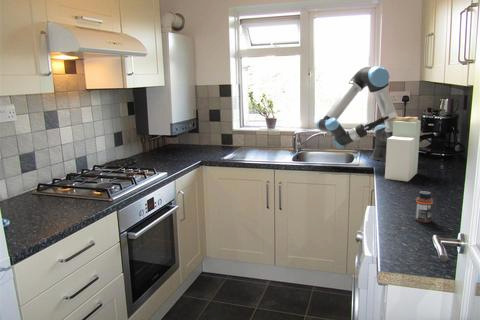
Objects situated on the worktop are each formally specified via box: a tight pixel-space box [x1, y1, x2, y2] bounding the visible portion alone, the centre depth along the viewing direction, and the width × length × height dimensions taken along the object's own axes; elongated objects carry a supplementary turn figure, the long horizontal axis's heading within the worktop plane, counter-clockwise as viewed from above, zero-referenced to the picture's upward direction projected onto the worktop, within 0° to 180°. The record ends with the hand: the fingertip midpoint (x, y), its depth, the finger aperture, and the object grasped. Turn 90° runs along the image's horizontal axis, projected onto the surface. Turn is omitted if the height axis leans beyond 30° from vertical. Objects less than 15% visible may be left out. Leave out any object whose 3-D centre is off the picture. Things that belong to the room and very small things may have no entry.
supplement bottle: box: [414, 190, 434, 224], centre depth 157 cm, size 6×6×11 cm
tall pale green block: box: [384, 120, 421, 182], centre depth 226 cm, size 12×22×30 cm, turn 146°
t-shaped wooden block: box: [380, 115, 419, 122], centre depth 230 cm, size 19×6×2 cm, turn 56°
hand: (394, 114), depth 230 cm, fingers closed on t-shaped wooden block, 2 cm apart
